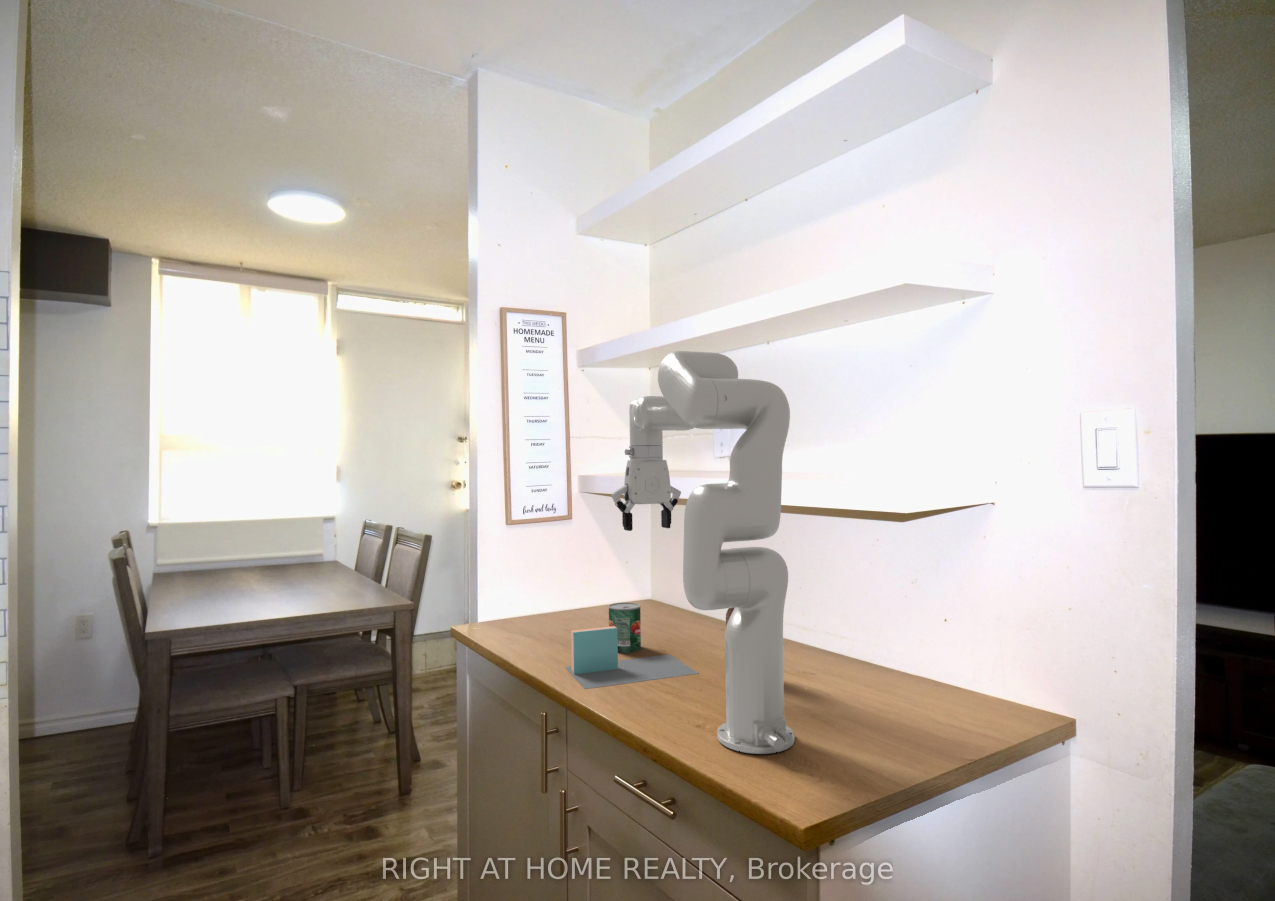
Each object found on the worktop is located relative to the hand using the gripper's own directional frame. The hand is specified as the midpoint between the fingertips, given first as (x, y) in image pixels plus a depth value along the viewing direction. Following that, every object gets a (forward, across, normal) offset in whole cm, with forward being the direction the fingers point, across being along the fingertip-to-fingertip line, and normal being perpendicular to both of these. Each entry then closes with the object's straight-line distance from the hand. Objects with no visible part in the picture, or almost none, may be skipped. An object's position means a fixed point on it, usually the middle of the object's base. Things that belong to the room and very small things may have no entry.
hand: (647, 528), depth 156 cm
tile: (+30, -13, 0) cm, 33 cm away
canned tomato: (+31, 0, +13) cm, 34 cm away
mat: (+31, -6, -3) cm, 32 cm away
